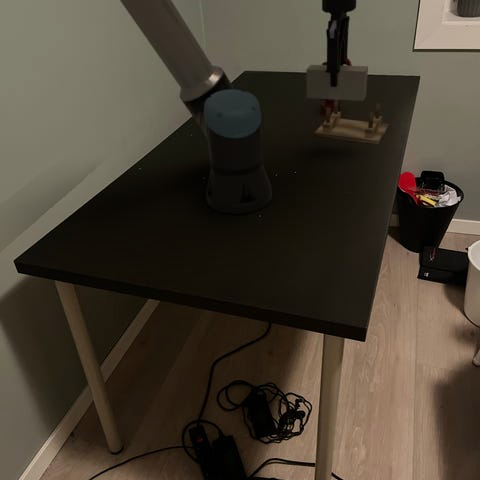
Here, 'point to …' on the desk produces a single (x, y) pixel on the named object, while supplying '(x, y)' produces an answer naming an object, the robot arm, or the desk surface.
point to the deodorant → (328, 103)
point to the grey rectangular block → (350, 84)
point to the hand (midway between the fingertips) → (336, 95)
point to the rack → (353, 127)
